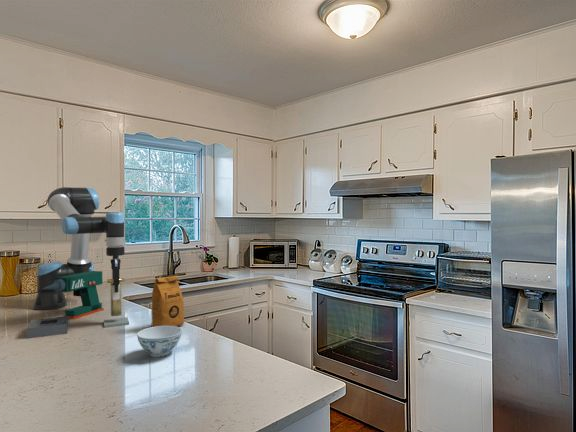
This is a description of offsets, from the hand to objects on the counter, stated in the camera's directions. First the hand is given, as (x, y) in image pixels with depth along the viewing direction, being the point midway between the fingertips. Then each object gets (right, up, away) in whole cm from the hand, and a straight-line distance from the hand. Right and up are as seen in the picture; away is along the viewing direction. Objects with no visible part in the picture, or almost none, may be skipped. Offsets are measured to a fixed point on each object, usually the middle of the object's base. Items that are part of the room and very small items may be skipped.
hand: (116, 298), depth 178 cm
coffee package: (+25, -11, -6) cm, 29 cm away
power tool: (-25, -12, +11) cm, 30 cm away
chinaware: (+32, -12, -39) cm, 52 cm away
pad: (0, -11, 0) cm, 11 cm away
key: (0, -7, 0) cm, 7 cm away
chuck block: (-23, -12, -11) cm, 28 cm away
